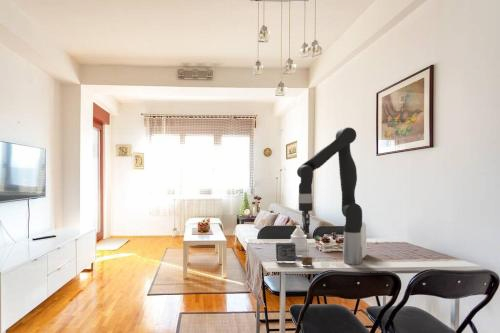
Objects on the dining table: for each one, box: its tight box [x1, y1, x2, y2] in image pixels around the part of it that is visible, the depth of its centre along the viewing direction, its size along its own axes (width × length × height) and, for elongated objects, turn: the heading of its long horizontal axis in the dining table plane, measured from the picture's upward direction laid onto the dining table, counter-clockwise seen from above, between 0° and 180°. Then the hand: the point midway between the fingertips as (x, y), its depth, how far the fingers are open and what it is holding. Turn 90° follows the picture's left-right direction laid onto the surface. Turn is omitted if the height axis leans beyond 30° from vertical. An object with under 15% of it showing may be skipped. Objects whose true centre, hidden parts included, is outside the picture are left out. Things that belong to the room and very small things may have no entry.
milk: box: [342, 220, 368, 259], centre depth 217 cm, size 12×12×26 cm
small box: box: [275, 242, 297, 261], centre depth 202 cm, size 11×6×10 cm, turn 92°
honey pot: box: [289, 225, 310, 255], centre depth 219 cm, size 13×13×18 cm
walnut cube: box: [301, 254, 313, 266], centre depth 194 cm, size 5×5×5 cm
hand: (306, 231), depth 195 cm, fingers open, 8 cm apart
